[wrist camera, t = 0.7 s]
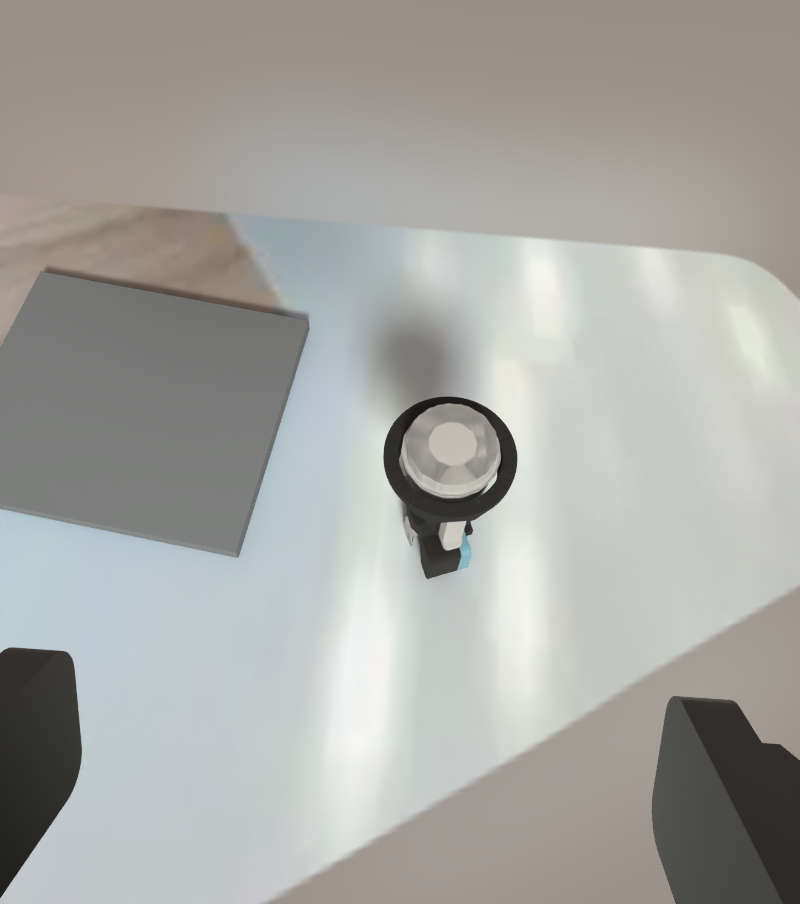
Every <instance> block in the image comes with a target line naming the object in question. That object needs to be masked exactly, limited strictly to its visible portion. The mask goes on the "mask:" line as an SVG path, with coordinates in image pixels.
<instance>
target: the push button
mask: <svg viewBox="0 0 800 904" xmlns="http://www.w3.org/2000/svg"><path fill="white" fill-rule="evenodd" d="M400 454H401V455H402V458H403V462H404V466H405V469H406V476H405V477H404V475H403V473H402V471H401V468H400V464H399V457H400ZM384 468H385V472H386V476H387V478H388V481H389V483H390V485H391V487H392V489H393V490H394V491H395V493H396V494H397V495H398V497H399V498H400V499H401V500H402V501H403V502H404V503H405V504H406V505H407V516H406V517H405V522H404V528H405V532H406V535H407V538H408V541H409V544H410V546H412V542H413V537H415V536H419V539H420V544H421V563H422V567H423V570H424V573H425V576H426V578H427V579H429V578H432V577H436V576H439V575H442V574H446V573H449V572H453V571H456V570H459V569H462V568H465V567H468V562H469V560H470V557H471V548H470V545H469V542H468V540H467V537H466V536H468V535H471V534H472V532H473V529H472V526H471V523H470V522H471V521H472V520H475V519H477V518H478V517H480V516H481V515H482V514H484V513H485V512H487V511H489V510H490V509H492V508H493V507H494V506H495V505H497V504H498V503H499V502H500V501H501V500H502V499H503V497H504V496H505V495H506V493H507V492H508V490H509V488H510V487H511V484H512V482H513V479H514V477H515V473H516V468H517V451H516V446H515V443H514V439H513V437H512V435H511V433H510V431H509V429H508V428H507V426H506V425H505V424H504V422H503V421H502V420H501V419H500V418H499V417H498V416H497V415H496V414H495V413H493V412H492V411H491V410H489V409H488V408H486V407H485V406H483V405H481V404H479V403H477V402H474V401H471V400H468V399H464V398H459V397H437V398H432V399H428V400H425V401H422V402H419V403H417V404H415V405H413V406H412V407H410V408H409V409H407V410H406V411H405V412H403V413H402V414H401V415H400V416H399V417H398V418H397V420H396V421H395V422H394V423H393V425H392V427H391V428H390V430H389V432H388V435H387V437H386V441H385V445H384ZM496 472H497V480H496V482H495V483H494V484H493V486H492V487H491V488H490V489H489V490H488V491H487V492H485V493H484V494H483V492H484V491H485V489H486V487H487V485H488V483H489V482H490V481H491V480H492V479H493V478H494V476H495V475H496ZM482 494H483V495H482Z"/></svg>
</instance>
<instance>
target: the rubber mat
mask: <svg viewBox="0 0 800 904" xmlns="http://www.w3.org/2000/svg"><path fill="white" fill-rule="evenodd" d="M308 331H309V323H308V320H303V319H297V318H292V317H286V316H281V315H275V314H270V313H264V312H259V311H254V310H248V309H243V308H237V307H232V306H226V305H221V304H215V303H210V302H204V301H199V300H193V299H188V298H183V297H177V296H172V295H166V294H161V293H155V292H150V291H144V290H139V289H133V288H128V287H122V286H117V285H112V284H106V283H101V282H95V281H90V280H84V279H79V278H73V277H68V276H62V275H57V274H51V273H46V272H41V271H40V273H39V275H38V277H37V279H36V281H35V283H34V285H33V287H32V289H31V290H30V292H29V294H28V296H27V298H26V300H25V302H24V304H23V306H22V308H21V310H20V312H19V313H18V315H17V317H16V319H15V321H14V323H13V325H12V327H11V329H10V331H9V333H8V334H7V336H6V338H5V340H4V342H3V344H2V346H1V348H0V509H5V510H10V511H14V512H19V513H24V514H29V515H34V516H39V517H43V518H48V519H53V520H58V521H63V522H68V523H73V524H77V525H82V526H87V527H92V528H97V529H102V530H107V531H111V532H116V533H121V534H126V535H131V536H136V537H140V538H145V539H150V540H155V541H160V542H165V543H170V544H174V545H179V546H184V547H189V548H194V549H199V550H204V551H208V552H213V553H218V554H223V555H228V556H233V557H239V554H240V551H241V547H242V544H243V541H244V538H245V534H246V531H247V528H248V525H249V522H250V518H251V515H252V512H253V509H254V505H255V502H256V499H257V496H258V493H259V489H260V486H261V483H262V480H263V476H264V473H265V470H266V467H267V464H268V460H269V457H270V454H271V451H272V447H273V444H274V441H275V438H276V435H277V431H278V428H279V425H280V422H281V418H282V415H283V412H284V409H285V406H286V402H287V399H288V396H289V393H290V389H291V386H292V383H293V380H294V377H295V373H296V370H297V367H298V364H299V360H300V357H301V354H302V351H303V348H304V344H305V341H306V338H307V335H308Z"/></svg>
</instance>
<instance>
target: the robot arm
mask: <svg viewBox="0 0 800 904" xmlns="http://www.w3.org/2000/svg"><path fill="white" fill-rule="evenodd" d="M81 756H82V746H81V735H80V724H79V713H78V702H77V691H76V680H75V669H74V663H73V660H72V658H71V656H70V655H69V653H67V652H65V651H55V650H41V649H26V648H8V649H5V650H4V651H2V652H1V653H0V898H1V896H2V895H3V893H4V892H5V890H6V889H7V888H8V886H9V885H10V883H11V882H12V880H13V879H14V877H15V876H16V874H17V873H18V872H19V870H20V869H21V867H22V866H23V864H24V863H25V861H26V860H27V858H28V857H29V856H30V854H31V853H32V851H33V850H34V848H35V847H36V845H37V844H38V842H39V841H40V840H41V838H42V837H43V835H44V834H45V832H46V831H47V829H48V828H49V826H50V825H51V824H52V822H53V821H54V819H55V818H56V816H57V815H58V813H59V812H60V810H61V809H62V808H63V806H64V805H65V803H66V802H67V800H68V798H69V797H70V795H71V793H72V791H73V789H74V786H75V784H76V781H77V778H78V774H79V770H80V765H81ZM652 821H653V831H654V837H655V842H656V846H657V850H658V853H659V856H660V858H661V862H662V865H663V867H664V870H665V873H666V876H667V879H668V882H669V885H670V888H671V891H672V894H673V897H674V900H675V903H676V904H800V760H798V759H797V758H796V757H795V756H793V755H792V754H791V753H790V752H789V751H787V750H786V749H785V748H784V747H782V746H781V745H780V744H767V743H762V742H761V741H760V739H759V738H758V736H757V734H756V733H755V731H754V730H753V728H752V726H751V725H750V723H749V722H748V720H747V718H746V717H745V715H744V714H743V712H742V710H741V709H740V707H739V706H738V704H737V703H736V702H734V701H732V700H722V699H708V698H694V697H679V696H673V697H672V698H671V699H670V700H669V702H668V705H667V708H666V713H665V720H664V726H663V732H662V739H661V745H660V751H659V758H658V765H657V770H656V777H655V783H654V789H653V797H652Z"/></svg>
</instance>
